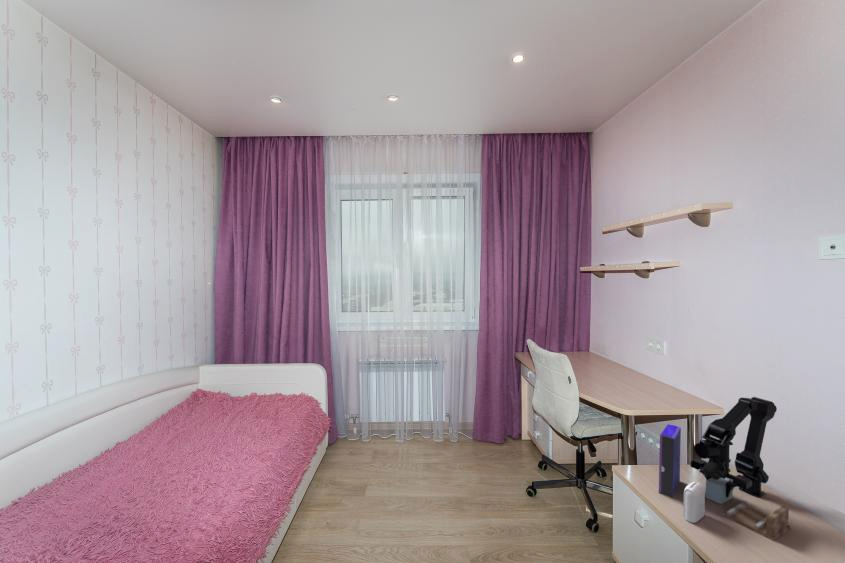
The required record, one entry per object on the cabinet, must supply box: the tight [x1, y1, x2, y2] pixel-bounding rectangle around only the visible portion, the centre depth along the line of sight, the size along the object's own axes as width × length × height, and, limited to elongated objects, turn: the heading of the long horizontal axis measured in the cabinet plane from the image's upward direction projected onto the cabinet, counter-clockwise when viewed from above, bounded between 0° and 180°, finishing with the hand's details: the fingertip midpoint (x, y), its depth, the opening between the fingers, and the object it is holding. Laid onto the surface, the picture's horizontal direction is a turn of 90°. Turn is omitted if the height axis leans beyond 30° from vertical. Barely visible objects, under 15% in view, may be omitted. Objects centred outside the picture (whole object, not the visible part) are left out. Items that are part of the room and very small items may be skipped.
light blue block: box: [705, 478, 734, 505], centre depth 142 cm, size 10×5×7 cm, turn 117°
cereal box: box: [658, 424, 682, 499], centre depth 148 cm, size 17×5×24 cm, turn 136°
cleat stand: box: [722, 501, 791, 541], centre depth 127 cm, size 14×14×7 cm
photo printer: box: [682, 481, 706, 524], centre depth 129 cm, size 10×4×12 cm, turn 123°
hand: (719, 493), depth 142 cm, fingers closed on light blue block, 5 cm apart
